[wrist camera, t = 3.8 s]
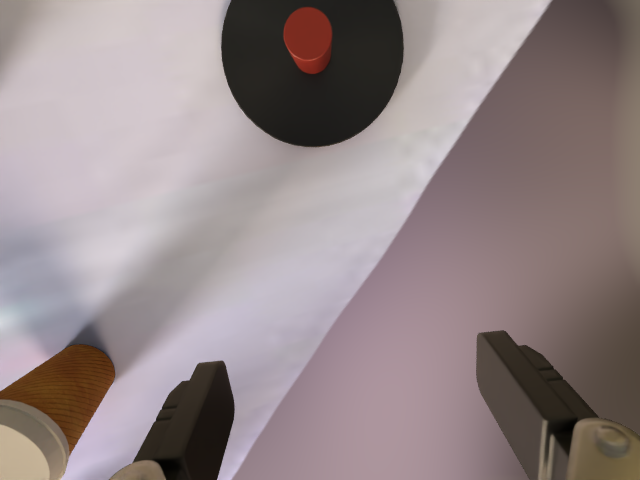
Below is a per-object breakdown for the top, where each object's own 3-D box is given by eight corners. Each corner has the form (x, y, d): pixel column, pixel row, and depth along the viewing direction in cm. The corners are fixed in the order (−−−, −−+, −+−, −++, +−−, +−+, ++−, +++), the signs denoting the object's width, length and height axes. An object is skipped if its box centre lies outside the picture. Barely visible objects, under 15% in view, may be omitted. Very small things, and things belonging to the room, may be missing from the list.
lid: (305, 180, 35) (299, 199, 26) (188, 46, 32) (139, 21, 23) (436, 65, 32) (475, 46, 23) (321, -96, 28) (319, -183, 20)
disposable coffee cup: (23, 356, 41) (-94, 448, 30) (89, 315, 39) (-9, 396, 28) (83, 417, 43) (-3, 524, 32) (148, 381, 42) (81, 480, 30)
